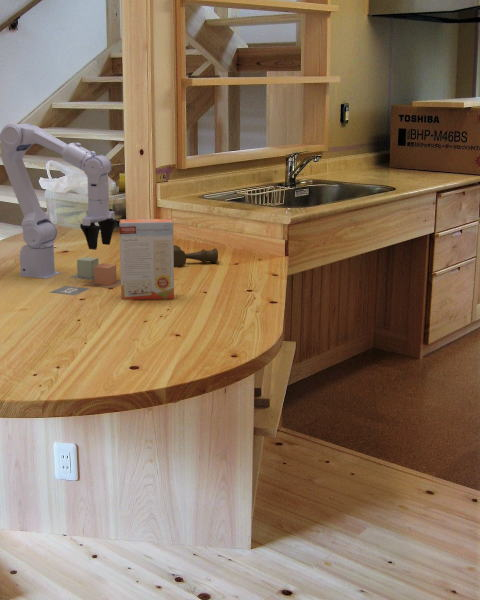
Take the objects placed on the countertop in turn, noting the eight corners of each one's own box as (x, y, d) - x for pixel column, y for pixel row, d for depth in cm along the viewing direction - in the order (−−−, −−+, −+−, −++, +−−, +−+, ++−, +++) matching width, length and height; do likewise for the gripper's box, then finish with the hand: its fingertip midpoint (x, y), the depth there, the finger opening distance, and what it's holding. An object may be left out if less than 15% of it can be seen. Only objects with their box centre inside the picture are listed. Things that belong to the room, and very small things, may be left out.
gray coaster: (69, 278, 230) (69, 277, 230) (83, 272, 238) (83, 271, 237) (93, 281, 228) (93, 279, 228) (107, 275, 235) (106, 273, 235)
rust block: (94, 284, 223) (94, 266, 221) (102, 280, 227) (101, 263, 226) (109, 285, 221) (108, 268, 220) (116, 281, 226) (116, 264, 224)
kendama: (220, 268, 249) (156, 268, 245) (214, 262, 258) (153, 262, 254) (220, 249, 248) (156, 249, 244) (215, 244, 257) (153, 243, 253)
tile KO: (49, 293, 213) (48, 292, 213) (64, 286, 221) (64, 285, 221) (74, 296, 211) (74, 295, 211) (90, 289, 218) (90, 288, 218)
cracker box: (173, 294, 215) (173, 217, 210) (174, 299, 210) (173, 221, 204) (121, 294, 214) (119, 218, 208) (120, 300, 208) (119, 221, 202)
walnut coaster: (83, 286, 222) (83, 285, 222) (99, 279, 230) (99, 278, 230) (112, 289, 219) (112, 288, 219) (127, 282, 227) (127, 280, 227)
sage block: (77, 276, 231) (76, 259, 230) (85, 273, 235) (84, 256, 234) (91, 278, 230) (90, 261, 228) (98, 274, 234) (98, 258, 233)
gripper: (97, 203, 214) (99, 252, 218) (123, 197, 227) (124, 243, 231) (75, 201, 216) (76, 250, 220) (101, 195, 230) (102, 241, 233)
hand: (99, 246), depth 226 cm, fingers open, 7 cm apart
